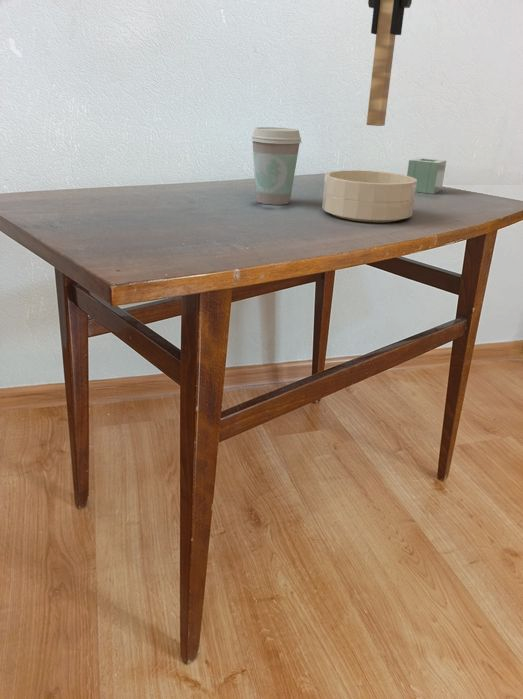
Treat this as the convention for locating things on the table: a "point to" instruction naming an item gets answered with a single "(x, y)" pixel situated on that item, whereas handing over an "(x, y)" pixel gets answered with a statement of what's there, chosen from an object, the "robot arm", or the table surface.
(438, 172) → the holder
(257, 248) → the table surface
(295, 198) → the table surface
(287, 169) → the coffee cup
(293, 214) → the table surface
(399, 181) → the bowl
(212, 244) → the table surface
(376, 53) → the stick
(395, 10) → the robot arm
